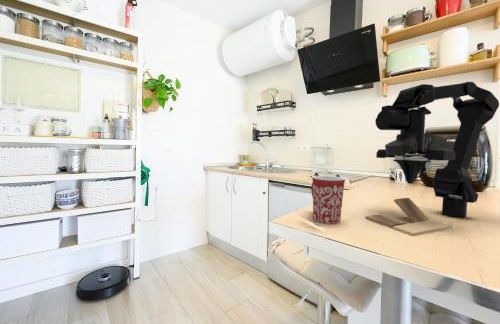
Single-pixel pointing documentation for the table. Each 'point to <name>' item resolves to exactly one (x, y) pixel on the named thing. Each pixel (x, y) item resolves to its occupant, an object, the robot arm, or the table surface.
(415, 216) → the plank
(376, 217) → the plank
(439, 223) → the underlay base
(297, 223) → the table surface
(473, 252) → the table surface
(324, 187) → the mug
